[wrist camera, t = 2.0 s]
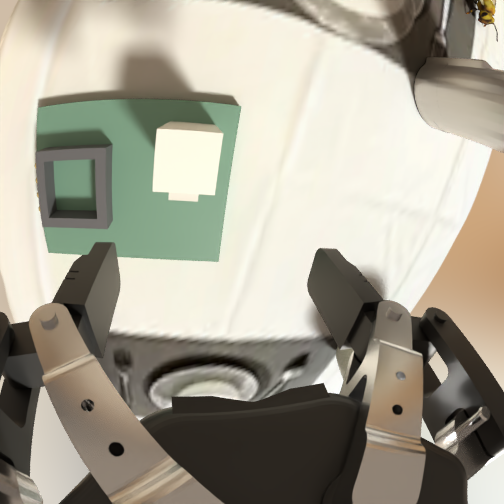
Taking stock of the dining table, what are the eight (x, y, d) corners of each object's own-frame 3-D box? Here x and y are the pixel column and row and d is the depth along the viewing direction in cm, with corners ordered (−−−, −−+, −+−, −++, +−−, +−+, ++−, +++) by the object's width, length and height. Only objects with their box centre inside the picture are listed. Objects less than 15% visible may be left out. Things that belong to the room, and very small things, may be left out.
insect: (454, 18, 17) (479, 18, 13) (441, -45, 10) (461, -49, 5) (491, 48, 19) (512, 50, 15) (480, -13, 12) (499, -14, 7)
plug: (170, 121, 21) (156, 128, 14) (215, 124, 22) (223, 133, 15) (165, 172, 23) (152, 203, 16) (208, 175, 24) (213, 207, 17)
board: (43, 106, 17) (27, 109, 15) (239, 106, 22) (245, 106, 20) (52, 247, 25) (41, 262, 22) (217, 255, 30) (220, 272, 27)
